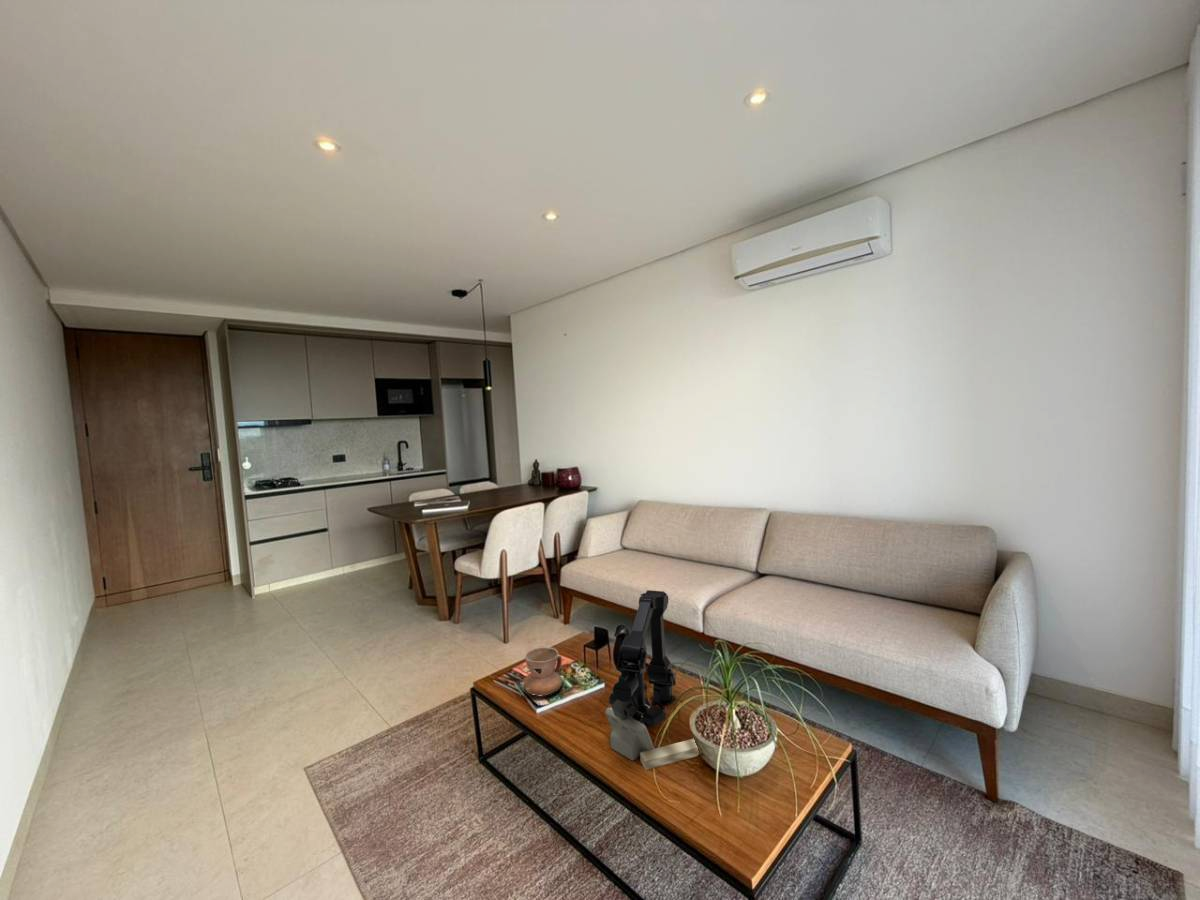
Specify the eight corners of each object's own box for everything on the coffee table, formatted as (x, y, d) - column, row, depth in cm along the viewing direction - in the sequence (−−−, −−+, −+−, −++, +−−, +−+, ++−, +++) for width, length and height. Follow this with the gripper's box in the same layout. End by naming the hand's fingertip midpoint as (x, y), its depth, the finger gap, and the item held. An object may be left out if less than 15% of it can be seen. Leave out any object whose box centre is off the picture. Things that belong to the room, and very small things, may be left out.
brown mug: (536, 707, 174) (534, 668, 174) (513, 692, 185) (511, 655, 184) (574, 687, 187) (573, 650, 186) (551, 674, 197) (549, 639, 197)
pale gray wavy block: (696, 747, 148) (696, 737, 148) (702, 756, 144) (702, 746, 144) (640, 762, 143) (640, 752, 143) (645, 771, 139) (645, 761, 139)
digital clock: (658, 756, 145) (655, 721, 144) (633, 769, 140) (631, 733, 139) (625, 729, 158) (623, 697, 158) (602, 740, 153) (600, 707, 153)
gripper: (594, 683, 151) (598, 732, 152) (639, 707, 137) (642, 760, 138) (620, 669, 158) (623, 716, 159) (665, 690, 145) (668, 741, 146)
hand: (637, 733), depth 150 cm, fingers closed
